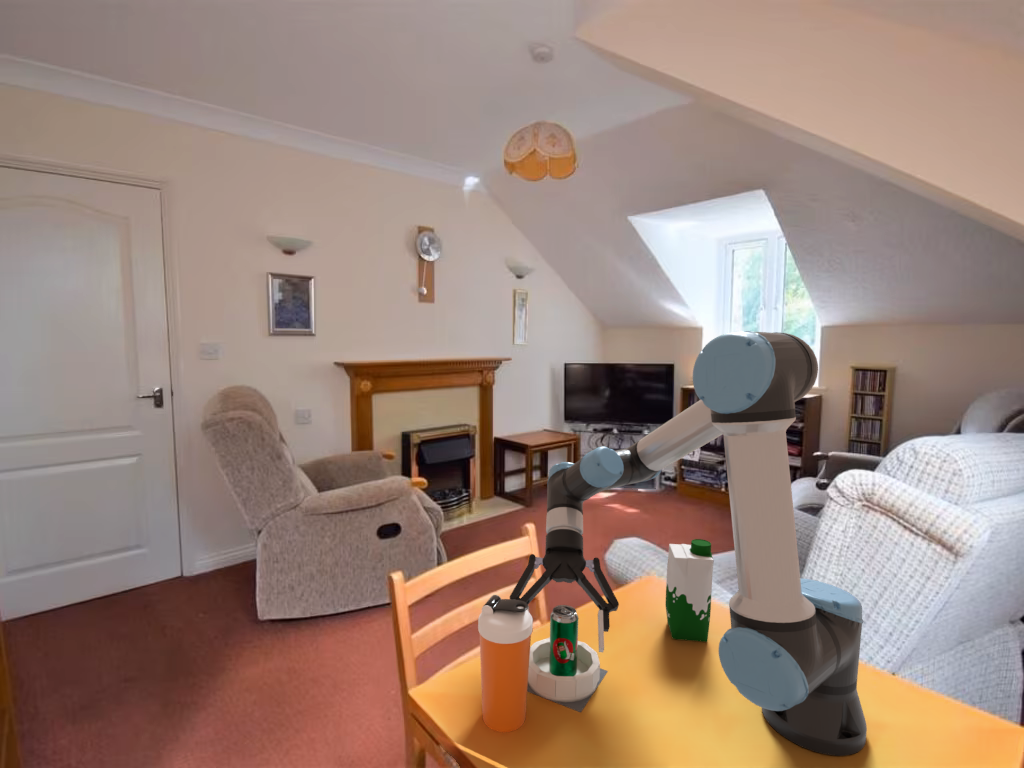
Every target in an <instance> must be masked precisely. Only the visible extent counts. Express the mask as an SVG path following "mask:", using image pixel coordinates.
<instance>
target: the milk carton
mask: <svg viewBox="0 0 1024 768" xmlns="http://www.w3.org/2000/svg"><path fill="white" fill-rule="evenodd" d="M714 561H715V560H714V558H713V553H712V542H710V541H709V540H706V539H704V538H703V539H701V538H695V539H692V540H691V542H690V544H686V543H681V544H679V543H678V544H677V543H676V544H675V543H669V545H668V554H667V563H666V581H665V583H666V585H665V588H666V589H665V611H666V619H667V624H668V629H669V631H670V636H671V639H673V640H681V641H690V642H691V641H692V642H704V643H708V638H709V632H710V631H709V630H710V622H711V621H710V620H711V609H712V592H713V591H712V590H713V589H712V587H713V575H714V574H713V572H714Z"/></svg>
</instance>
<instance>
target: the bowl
mask: <svg viewBox="0 0 1024 768" xmlns="http://www.w3.org/2000/svg"><path fill="white" fill-rule="evenodd" d="M549 659H550V637H547V638H544V639H541V640H537V641H535V642H534V643H532V645H530V656H529V671H528V684H529V686H530V688H531V689H532V690H533V691H534V692H535V693H537V694H538V695H540V696H542V697H541V698H543V697H544V698H543V699H545V698H546V700H548V699H549V700H548V701H550V700H552V701H551V702H553V701H557V702H575V701H580V700H583V699H585V698H587V697H589V696H590V695H591V694H593V695H594V693H595V692H596V690H597V689H596V688H598V687H597V685H598V681H599V678H600V668H601V663H600V658H599V653H598V652H597V651H596V650H595V649H593V648H592V647H591V646H589V644H587V643H586V642H584V641H580V640H578V649H577V673H576V675H575V676H555V675H552V674H551V673H550V670H549ZM594 691H595V692H594ZM538 695H537V696H538ZM540 696H539V697H540Z"/></svg>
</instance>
